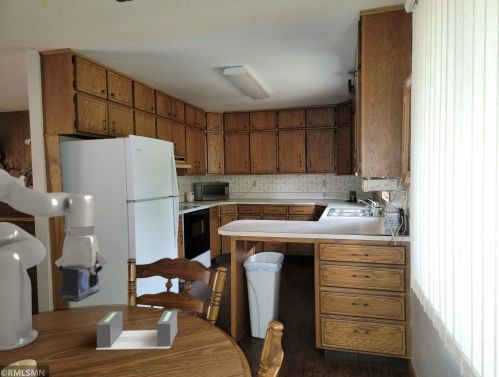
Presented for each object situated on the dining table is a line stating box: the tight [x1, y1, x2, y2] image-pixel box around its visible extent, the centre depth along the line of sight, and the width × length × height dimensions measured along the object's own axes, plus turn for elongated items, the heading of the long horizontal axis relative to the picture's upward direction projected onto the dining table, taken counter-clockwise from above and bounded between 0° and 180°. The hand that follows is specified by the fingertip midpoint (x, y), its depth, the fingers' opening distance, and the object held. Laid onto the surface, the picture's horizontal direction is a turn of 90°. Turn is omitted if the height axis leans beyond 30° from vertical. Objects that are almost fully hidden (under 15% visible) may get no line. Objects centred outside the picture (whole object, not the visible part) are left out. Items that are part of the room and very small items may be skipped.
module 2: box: [156, 310, 178, 348], centre depth 103 cm, size 4×10×7 cm, turn 1°
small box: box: [60, 262, 101, 303], centre depth 105 cm, size 11×6×10 cm, turn 169°
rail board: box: [95, 329, 178, 351], centre depth 103 cm, size 22×12×2 cm, turn 91°
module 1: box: [96, 310, 124, 348], centre depth 102 cm, size 4×10×7 cm, turn 1°
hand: (81, 285), depth 105 cm, fingers closed on small box, 7 cm apart
